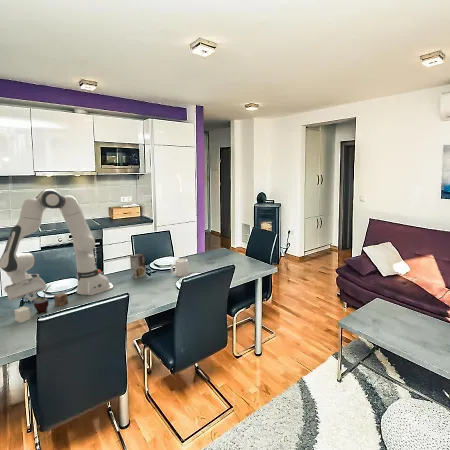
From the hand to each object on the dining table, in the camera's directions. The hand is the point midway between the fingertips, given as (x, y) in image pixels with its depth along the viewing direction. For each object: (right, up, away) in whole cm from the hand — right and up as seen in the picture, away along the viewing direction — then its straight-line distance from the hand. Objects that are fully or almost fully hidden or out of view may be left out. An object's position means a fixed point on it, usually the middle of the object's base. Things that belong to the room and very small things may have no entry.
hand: (33, 300), depth 183 cm
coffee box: (+46, +5, +53) cm, 71 cm away
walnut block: (+13, -4, +6) cm, 15 cm away
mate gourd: (+7, -6, -3) cm, 10 cm away
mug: (+77, +6, +57) cm, 96 cm away
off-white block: (+2, -7, -13) cm, 15 cm away
